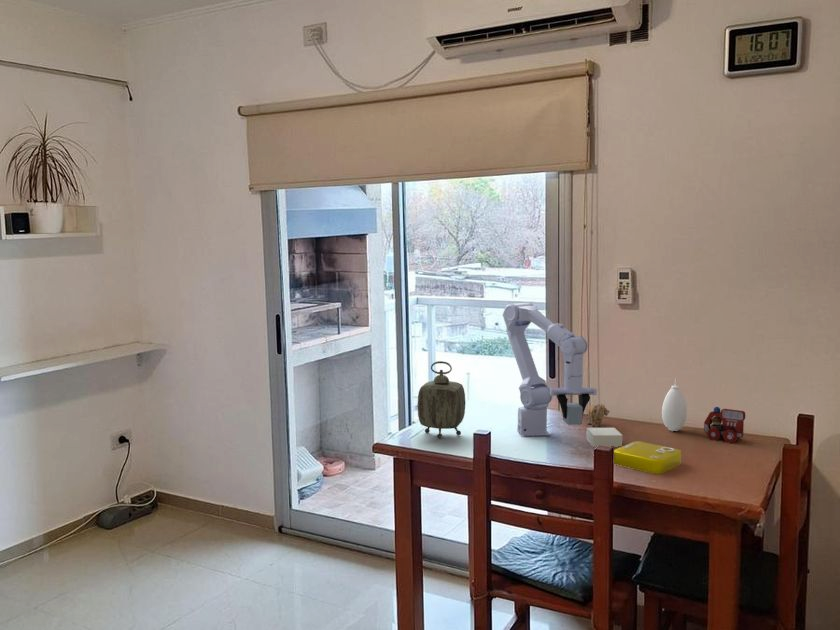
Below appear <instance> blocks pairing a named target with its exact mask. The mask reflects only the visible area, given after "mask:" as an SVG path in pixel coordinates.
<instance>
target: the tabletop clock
mask: <svg viewBox="0 0 840 630" xmlns="http://www.w3.org/2000/svg"><path fill="white" fill-rule="evenodd" d="M436 364H443V365H447V366H448V367H450V369H449V370H448V371H444V370H443V369H440V370H439V371H436V370H434V369H433V367H434V366H435V365H436ZM430 370H431V371H432V372H433V373H435V374H437V375H436V376H435V377H433V378H434V379H433V380H431V381H427V382H425V383H423V384H422V386H421V387H420V388H419V391H418V395H417V405H416V406H417V407H416V408H417V416H418V420H419V423H420V425H421V426H424V427H427V428H425V429H424V432H425V434H428V433H430V432H431V430H430V429H431V428H433V429H438V433H437V435H436V436H437V439H442V437H443V435H442V434H443V433H442V430H443V429H446V430H447V429H448V430H449V429H454V430H455V433H456V435H457V436H461V435H462V432H461V431H460V430H459V429H458V428H457V427H459V426H460V424H461V423H462V422H463V420H464V418H465V414H466V393H465V389H464V386H463V384H461V383H459V382H457V381H452V380H451V381H450V379H449V378H448V376H446V375H447V374H449V373H451V372H452V370H453V367H452V365H451V364H450V363H449V362H447V361H441V360H439V361H434V362H433V363H432V364H431V366H430Z"/></svg>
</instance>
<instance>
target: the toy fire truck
mask: <svg viewBox="0 0 840 630" xmlns="http://www.w3.org/2000/svg"><path fill="white" fill-rule="evenodd" d="M745 419H746V412H745V411H744V410H739V409H733V408H722V409H721V408H720V407H718V406H715V407H714V408H713V411H710V412H709V414H708V415H707V417H706V419H705V420H704V422H703V423H704V424H703V431H704V433H705V434H707V437H708V438H709V440H711V439H712V441H717V440H719V439H721V437H722V438H723V440H724V441H725V442H726V443H728V442H732V443H731V444H733V443H735V442H736V441H737V440H739V439H741V438H743V437H744V428H745V426H744V421H745Z"/></svg>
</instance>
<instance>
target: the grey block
mask: <svg viewBox="0 0 840 630" xmlns="http://www.w3.org/2000/svg"><path fill="white" fill-rule="evenodd" d="M582 416H583V417H584V413H583V407H582V406H581V405H579V402H567V418H563V417H562V421H564V422H565V424H567V425H569V426H572V425H573V426H574V425H576V426H577V425H580V426H581V425H583V418H582Z"/></svg>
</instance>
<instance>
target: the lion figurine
mask: <svg viewBox="0 0 840 630" xmlns="http://www.w3.org/2000/svg"><path fill="white" fill-rule="evenodd" d="M609 413H610V410H608V408H606V406H605V404H603V403H599V404H596V405H594V404H592V405H590V406H589V407H588V414H587V415H588V417H587V422H586V424H587V425H591V428H596V426H595V425H596V423H597V422H598V424H597V428H603V427H602V422H603V419H604V418H605V417H608V415H609Z"/></svg>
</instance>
